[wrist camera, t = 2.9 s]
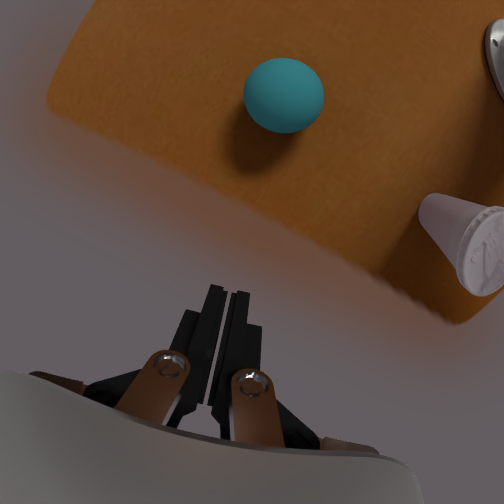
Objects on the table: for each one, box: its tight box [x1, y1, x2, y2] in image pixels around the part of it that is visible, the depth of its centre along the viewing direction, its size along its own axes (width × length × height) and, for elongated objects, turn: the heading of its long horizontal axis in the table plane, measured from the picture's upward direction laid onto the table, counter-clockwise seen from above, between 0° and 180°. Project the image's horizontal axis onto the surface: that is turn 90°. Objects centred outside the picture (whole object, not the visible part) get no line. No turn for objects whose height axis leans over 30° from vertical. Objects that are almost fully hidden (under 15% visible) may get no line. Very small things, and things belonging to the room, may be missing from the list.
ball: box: [243, 58, 324, 133], centre depth 17 cm, size 6×6×6 cm
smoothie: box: [418, 193, 504, 296], centre depth 16 cm, size 6×6×14 cm
